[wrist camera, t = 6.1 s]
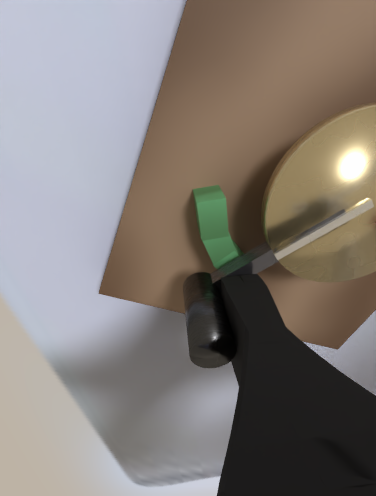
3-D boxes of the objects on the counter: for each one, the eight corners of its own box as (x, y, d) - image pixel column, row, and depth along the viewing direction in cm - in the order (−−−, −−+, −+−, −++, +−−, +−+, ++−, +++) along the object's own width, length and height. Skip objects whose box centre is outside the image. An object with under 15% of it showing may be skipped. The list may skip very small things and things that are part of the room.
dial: (424, 52, 7) (573, 36, 5) (449, 219, 10) (551, 268, 7) (137, 242, 10) (128, 303, 7) (223, 335, 12) (240, 404, 10)
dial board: (590, 39, 10) (723, 25, 8) (327, 333, 17) (353, 373, 15) (260, -243, 6) (318, -434, 4) (103, 277, 14) (90, 318, 11)
